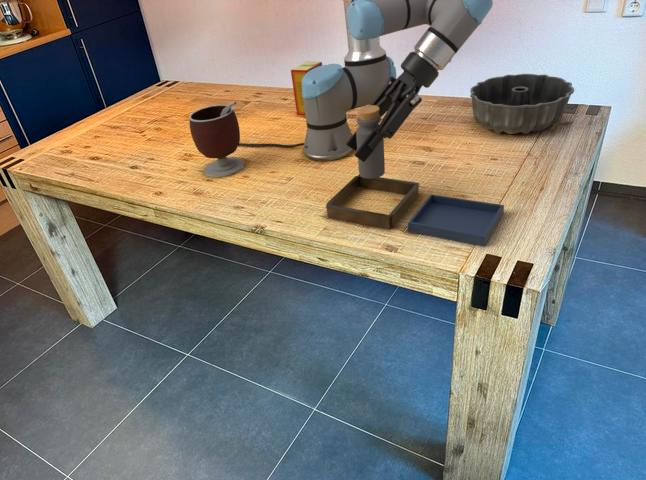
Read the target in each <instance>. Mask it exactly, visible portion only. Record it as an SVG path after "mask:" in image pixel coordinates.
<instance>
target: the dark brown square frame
mask: <svg viewBox="0 0 646 480" xmlns="http://www.w3.org/2000/svg"><path fill="white" fill-rule="evenodd" d="M360 188H361V189H365V190H366V189H367V190H373V191H379V192H380V191H381V192H386V193H394V194H399V195H404V197H403V198H402V199H401V200H400V201H399V203H397V205H396V206H395V207H394V208H392V211H390V213H388V214H385V213H381V212H374V211H370V210H364V209H359V208H358V209H357V208H352V207H346V206H343V205H344V204H345V203H346V202H347V201H348V200H349V199H350V198H351V197H352V196H353V195H354V194H355V193H356V192H357V191H358V190H359V189H360ZM419 196H420V182H417V181H411V180H410V181H409V180H401V179H395V178H389V177H382V176H381V177H378V178H374V179H366V178H362V177H361V176H360V175H359V174H358V175H355V176H354V177H353V178H351V180H350V181H348V182H347V184H345V185H344V186H343V187H342V188H341V189H340V190H339V191H338V192H337V193H336V194H335V195H334V196H332V198H330V199H329V200H328V201H327V202H326V205H325V209H326V215H327V219H333V220H338V221H343V222H348V223H354V224H359V225H362V226H363V225H364V226H369V227H373V228H380V229H384V230H391V229H394V227H395V226H396V225H397V224H398V222H400V220H401V219H402V218H403V216H404V215H405V214H406V213H407V211H409V209H410V208H412V206H413V205H414V203H415V202H416V201H417V200H418V199H419Z"/></svg>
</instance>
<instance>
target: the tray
mask: <svg viewBox="0 0 646 480" xmlns="http://www.w3.org/2000/svg"><path fill="white" fill-rule="evenodd" d="M504 210H505V204H499V203H492V202H487V201H479V200H474V199H472V200H471V199H466V198H459V197H452V196H446V195H438V194H433V193H431V194H430V195H429V196H428V197H427V198H426V199H425V201H424V202H423V203H422V204H421V206H420V207H419V208H418V209H417V211H415V213H414V214H413V216H411V218H410V219H409V220H408V222H407V232H409V233H413V234H419V235H425V236H429V237H433V238H434V237H435V238H440V239H444V240H450V241H455V242H461V243H466V244H471V245H477V246H481V247H485V246H486V245H487V243H488V241H489V240H490V238H491V236H492V234H493V233H494V231H495V229H496V228H497V226H498V224H499V222H500V221H501V219H502V217H503V216H504Z"/></svg>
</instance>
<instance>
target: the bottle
mask: <svg viewBox="0 0 646 480" xmlns="http://www.w3.org/2000/svg"><path fill="white" fill-rule="evenodd" d="M379 109H380V108H379V107H378V106H375V105H366V106H363V107H359V108H357V110H356V112H357V118H356V124H357V125H358V127H357V128H356V130H355V131H356V139H357V150H358V149H359V148H360V146H361V145H362V144H363V143H364V141H365V140H366V139H367V138H368V136H369V135H370V134H371V132H372V131H373V129H374V128H378V126H379V125H380V123H381V121H382V117H381V116H380V115H379ZM384 140H385V138H383V139H382V141H381V142H380V143H379V144H378V146H377V147H376V148H375V149H374V151H373V152H372V153H371V154H370V156H369V157H368V158H367V159H366V161H365V162H363V161H361V160H360V159H358V158H357V164H358V173H359V174H358V175H360V176H361V177H362V178H366V179H374V178H378V177H381V178H382V176H384V174H385V172H386V167H385V165H386V163H385V141H384ZM357 150H356V151H357Z"/></svg>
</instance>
